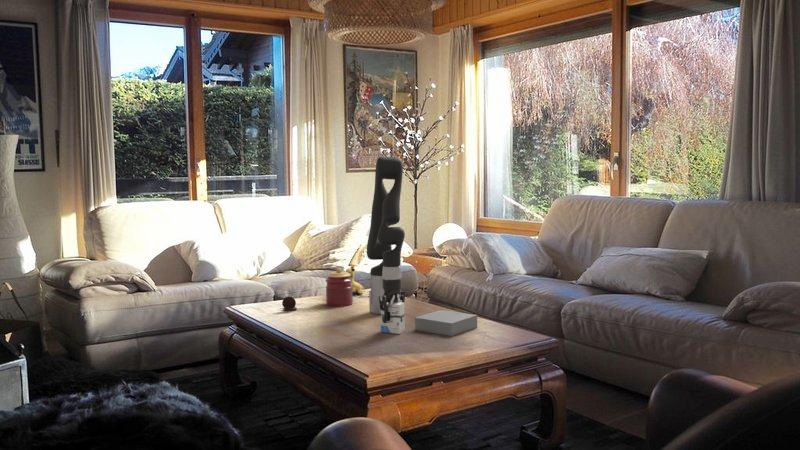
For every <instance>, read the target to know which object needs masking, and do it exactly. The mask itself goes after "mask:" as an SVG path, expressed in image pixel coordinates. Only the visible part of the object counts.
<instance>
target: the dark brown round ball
mask: <svg viewBox="0 0 800 450" xmlns="http://www.w3.org/2000/svg"><path fill="white" fill-rule="evenodd" d="M281 304H282V307H281V308H278V309H279V310H283V311H285V312H294V311H297V309H298V308H297V307H296V304H297V302H296V298H294V297H293V296H290V295H288V296H285V297H284V298H283V299H282V303H281Z"/></svg>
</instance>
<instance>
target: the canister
mask: <svg viewBox="0 0 800 450" xmlns="http://www.w3.org/2000/svg"><path fill="white" fill-rule="evenodd" d="M350 276H351V274H349V273H348V272H346V271H344V270H342V268H341V267H337V268H336V270H335V271H332V272H330V273H328V274H327V278H326V279H325V282H326V286H325V294H326V295H325V298H326V299H325V303H326V305H327V306H329V307H348V306H351V305H353V303H354V297H353V294H352V287H353V286H352V280H353V279H352V278H350Z"/></svg>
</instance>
